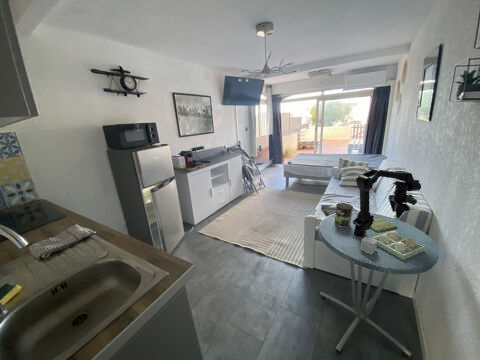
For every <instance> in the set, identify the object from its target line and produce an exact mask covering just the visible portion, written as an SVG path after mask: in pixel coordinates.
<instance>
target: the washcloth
mask: <svg viewBox="0 0 480 360" xmlns="http://www.w3.org/2000/svg"><path fill="white" fill-rule="evenodd" d="M396 228H397V229H398V226H397V225H396V224H394V223H391V222H389V221H387V220H386V219H384V218H380V217H379V218H377V219H376V218H375V219H374V221H373V224H372V225H371V227H370V229H371V230H373V231H374V232H375V233H376V232H378V233H382V232H386V231H387V232H388V231H392V230H394V229H396Z"/></svg>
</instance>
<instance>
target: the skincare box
mask: <svg viewBox="0 0 480 360" xmlns="http://www.w3.org/2000/svg"><path fill="white" fill-rule="evenodd" d="M377 243H378V240H375V239H373V238H372V237H370V236H366V235H365V236H364V237H362V239H361V241H360V249H359V250H360V251H362V252H364V253H366V254H369V255H373V254H374V253H375V252H376V251H377V248H378V246H377Z"/></svg>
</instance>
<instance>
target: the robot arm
mask: <svg viewBox="0 0 480 360" xmlns="http://www.w3.org/2000/svg"><path fill="white" fill-rule="evenodd" d="M380 177H382V178H388V179H389V178H390V179H395V182H393V183H392V184H393V185H395V188H394V190H393V192H392V193H393V194H390V195H388V201H389V204H390V207H391V208H390V209H391V211H392V212H393V213H395V215H396V218H397V219H400V218H401V216H402V215H403V214H404V213H405V212H409V211H410V209H411V208H410V206H409V205H408V204H410V205H412V206H415V205H416V204H417V203H418V199H416V198H414V196H413V195H412V194H410V193H409V194H407V192H416V191H420V190H421V189H422V184H421V183H420V180H419V179H415V178H414V177H413V173H411V172H407V171H404V170H394V171H393V170H385V169H378V168H372V169H370V170H368V171H366V172H364V173H361V175H358V176H357V177H356V180H355V181H356V182H355V183H356V186H357V188H358V190H359V212H358V213H357V216H356V218H354V220H352V225H355V227H354V231H353V232H354V233H353V234H354V236H356V237H357V238H358V237H360V238H365V237H366V234H367V231H369V230H370V229H371V228H370V227H371V225H372V224H373V221H374V220H375V219H374V217H375V215H374V214H372V213H371V212H370V191H371V189H372V188H373V185H374V184H375V183H377V181H378V180H379V178H380ZM407 203H408V204H407Z"/></svg>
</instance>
